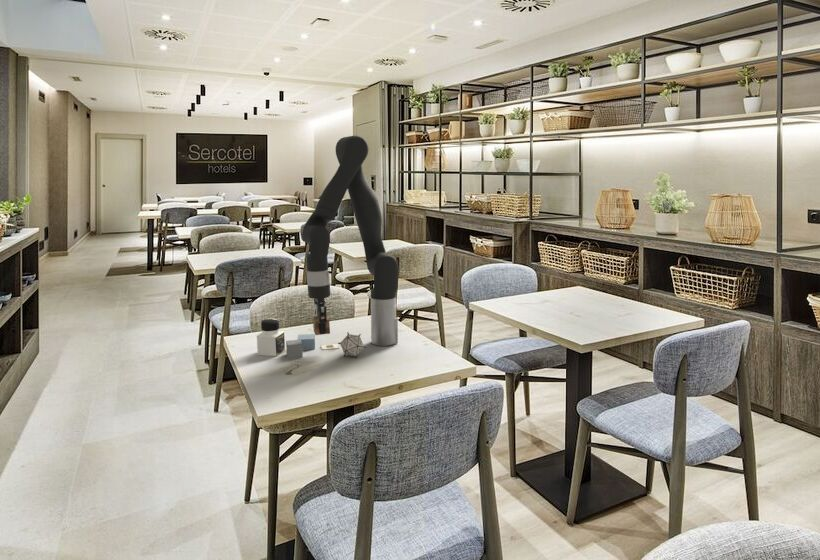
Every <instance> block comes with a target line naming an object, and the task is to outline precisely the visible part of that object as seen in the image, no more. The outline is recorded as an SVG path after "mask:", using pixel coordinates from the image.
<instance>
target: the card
mask: <svg viewBox="0 0 820 560" xmlns="http://www.w3.org/2000/svg"><path fill="white" fill-rule="evenodd" d="M320 348H321V350H322V351H324V350H338V349H340V347H339V344H338V343H332V344H323V345H322V344H321V345H320Z"/></svg>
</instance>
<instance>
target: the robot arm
mask: <svg viewBox="0 0 820 560" xmlns="http://www.w3.org/2000/svg"><path fill="white" fill-rule="evenodd" d="M369 149H370V148H369V144H368V142H367V141H366V139H365V137H363V136H360V135H348V136H343V137H342V138H340V139H339V140H338V141H337V143H336V145H335V156H336V159H337V161H338V163H339V165H338V167H337V170H336V172H335V173H334V175H333V177H332V178H331V180H329V182H328V183H327V185H326V186H325V187H324V189H323V191H322V193H321V195H320V197H319V199H318V202H317V204H316V207H315V209H314V210H313V212H312V213H311V215H310V216H309V218H308V219H307V221H306V222H305V224H304V225H303V229H302V233H301V236H302V239H303V241H304V243H306V244H308V245H309V247H310V248H309V253H308V254H307V255H306V270H307V273H306V281H307V294H308V295H307V296H308V298H309V299H313V307H314V309H313V311H314V315H315V317H318V322H319V332H320V334H322V335H325V334H324V333H326V322H327V316H328V313H327V308H328V307H327V302H326V300H325V299H326V298H329V297H330V296H331V283H330V282H331V280H330V271H329V265H328V264H329V262H328V261H329V260H328V255H329V250H330V244H331V243H330V239H331V237H330V232H329V230H328V229H327V228H326V227H327V225H328V224H329V222H332V221H333V220H334V219H335V217H336V215H337V212H338V211H339V209H340V206H341V204H342V201H343V199H344V197H345V195H346V192H347V191H348V192H347V193H348V194H349V198H350V203H351V207H352V211H353V214H354V218H355V221H356V224H357V228H358V231H359V234H360V238H361V241H362V243H363V248H364V249H363V250H364V254H365V261H366V267H367V270H368V271H369V273H370V275H372V276H373V277H374V279H373V280H374V283H373V288H371V290H370V330H371V331H370V334H371V335H370V340H371V341H370V342H371V345H375V346H379V347H380V346H381V347H386V346H393V345H395V344H396V345H397V344H399V343H398V342H399V338H398V337H399V330H398V329H399V323H398V318H397V292H398V289H399V264H398V261H397V259H396V258H395V257H394V256H393V255H390V254H388V252H387V251H386V248H385V245H384V242H383V237H382V226H383V221H382V220H383V217H382V212H381V208H380V203H379V200H378V197H377V195H376V193H375V191H374V189H373V188H372V186H371V185H370V182H369V181H368V180H367V177H366V175H365V172H364V170H363V166H362V165H363V163H364V162H365V160H366V158H367V157H368V154H369ZM321 317H324V319H321Z"/></svg>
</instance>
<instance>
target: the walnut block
mask: <svg viewBox="0 0 820 560" xmlns="http://www.w3.org/2000/svg"><path fill="white" fill-rule="evenodd" d="M321 319H324V317H321ZM312 323H313V324H312V327H313V334H315V336H319V335H320V336H321V335H329V334H331V329H330V328H331V326H330V325H331V324H330V318H329V316H328V315H327V322H326V333H324V334H320V332H319V322H318V317H316V316H312Z"/></svg>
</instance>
